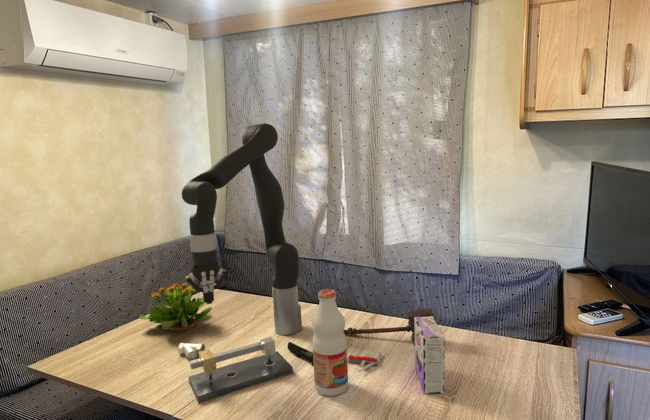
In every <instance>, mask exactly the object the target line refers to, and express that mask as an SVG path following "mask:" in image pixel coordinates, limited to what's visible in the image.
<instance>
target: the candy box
mask: <svg viewBox="0 0 650 420" xmlns="http://www.w3.org/2000/svg"><path fill="white" fill-rule="evenodd" d="M414 326H415V346H414V361H415V362H414V367H415V368H414V369H415V372H416V374H417V378H418V381H419V384H420V386H421V390H422V393H423V395H442V394H443V395H444V394H445V353H446V352H445V342H446V341H445V335H444V334H443V332H442V330H441V329H440V326H439V325H438V322H436V319H435V316H434V317H433V316H424V317H414Z"/></svg>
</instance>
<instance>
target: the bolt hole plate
mask: <svg viewBox="0 0 650 420" xmlns="http://www.w3.org/2000/svg"><path fill="white" fill-rule="evenodd" d="M275 352H276V353H274V354H271V362H268V358H267V356H265V355H264V354H263V355H259V356H255V357H252V358H248V359H245V360H241V361H238V362H235V363H230V364H228V365H224V366H220V367H218V368H217V367H216V368H217V370H215V371H212V380H209V377H208V373H205V372H204V371H202V372H199V373H196V374H192V375H190V376H188V383H189V385H190V388H191V390H192V392H193V394H194V396H195V399H196V401H197V403H198V404H200V403H203V402H206V401H209V400H212V399H216V398H218V397H222V396H225V395H228V394H231V393H235V392H238V391H241V390H244V389H247V388H251V387H253V386H256V385H260V384H262V383H266V382H269V381H273V380H275V379H280V378H282V377H285V376H288V375H291V374H294V372H293V371H294V368H293V366H292V365H291V364H290V363H289V362H288V361H287V360H286V358H284V356H283V355H282V354H281V353H280V352H279V351H277V350H275Z"/></svg>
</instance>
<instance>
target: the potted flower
mask: <svg viewBox="0 0 650 420" xmlns="http://www.w3.org/2000/svg"><path fill="white" fill-rule="evenodd" d="M188 284H189V283H186V282H184V283H182V284H181V285H180V284H179V283H174V284H173V285H170V286H169V288H166V289H165V288H164V287H161V288H159V290H158V291H159V293H158V292H154V291H153V292H152V293H151V296H150V298H151V299H153V300H154V301H155V303H156V304H155V306H154V308H153V307H152V308H151V309H149V310H148V311H147V312H148V314H149V315H147V316H145V314H142V313H141V314H140V315H139V319H140V320H144V321H146V320H149V322H150V323H151V322H152V323H153V324H155V323H156V324H160V325H161V327H162V329H163V330H168V329H169V330H170V331H174V332H175V331H177V332H178V331H185V330H189V329H190V328H193V327H194V325H195V323H196V322H199V321H201V320H202V319H204V318H205V317H206V316H207V315H208V314H209V313H210V312H211V311H212V310H213V307H212V306H209V307H206V308H205V309H204V310H201V312H199V311H200V309H202V307H204V306H205V305H207V303H205V302H204V300H203V296H202V297H200V296H197V298H196V297H193V295H194V294H197V291H196V289H195V288H193V287H192V286H191V285H188ZM192 297H193V298H192ZM160 299H162V300H163V305H161V304H160V303H159V301H158V300H160Z"/></svg>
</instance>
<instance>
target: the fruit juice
mask: <svg viewBox="0 0 650 420" xmlns="http://www.w3.org/2000/svg"><path fill="white" fill-rule="evenodd" d="M317 297H318V300H319V301H318V302H319V304H318V308H317V311H316V312H315V314H314V315H313V317H312V320H311V327H312V330H313V337H312V353H313V363H314V366H313V377H314V379H313V380H314V388H315V391H316V392H317V393H318V394H320V395H321V396H327V397H336V396H339V395H341V394H344V393H345V392H346V391H347V390H348V387H349V375H348V374H349V373H348V369H349V368H348V360H347V357H348V345H347V337H346V334H344V330H345V328H346V320H345V316H344V315H343V313H342V312H340V310H339V308H338V306H337V302H336V298H337V291H336V290H335V289H333V288H332V289H331V288H326V289H321V290H318V292H317Z"/></svg>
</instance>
